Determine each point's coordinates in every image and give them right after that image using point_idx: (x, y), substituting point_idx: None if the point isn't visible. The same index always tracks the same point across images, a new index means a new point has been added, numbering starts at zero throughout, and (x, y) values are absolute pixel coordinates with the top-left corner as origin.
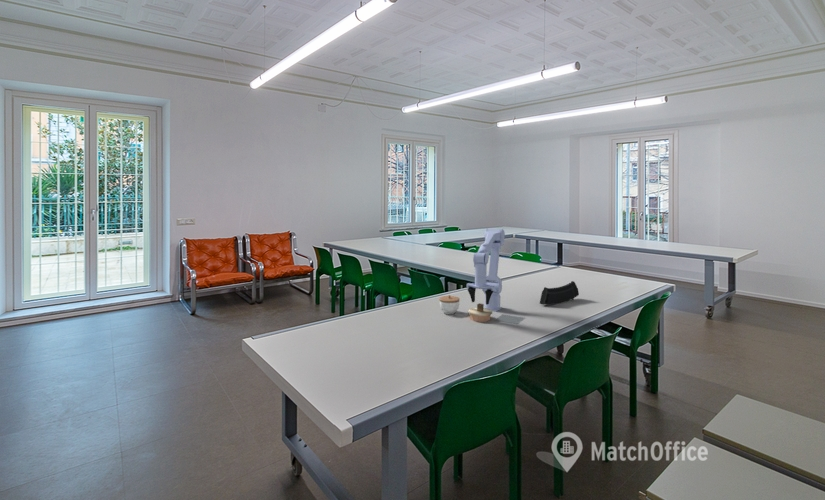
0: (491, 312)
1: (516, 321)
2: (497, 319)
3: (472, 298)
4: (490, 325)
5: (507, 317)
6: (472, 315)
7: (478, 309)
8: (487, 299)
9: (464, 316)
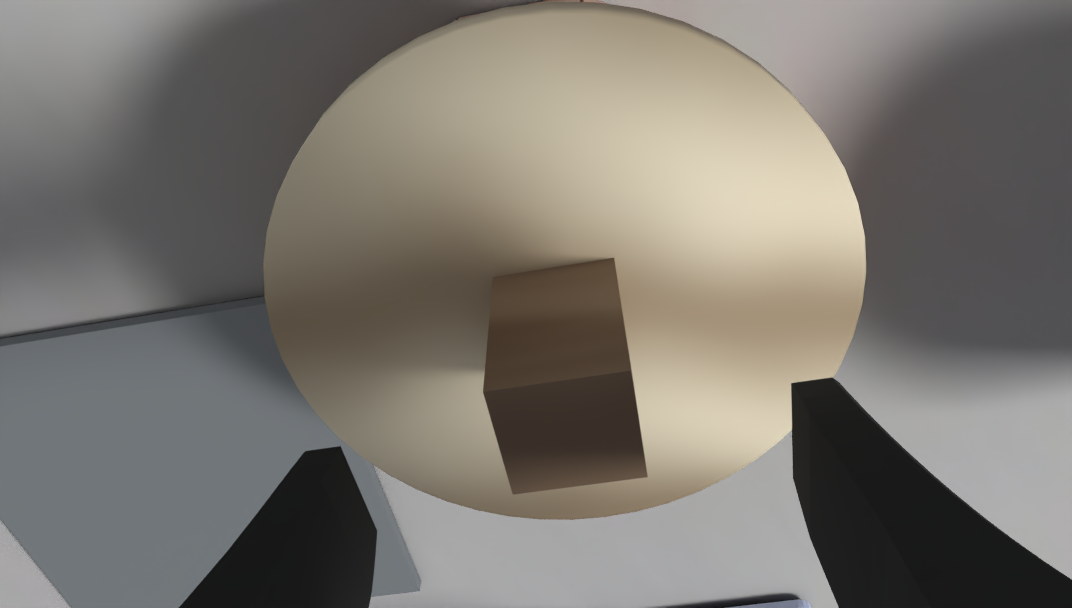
0: (295, 373)
1: (7, 456)
2: (283, 366)
3: (845, 462)
4: (121, 7)
5: None
6: None
7: (577, 291)
8: (211, 572)
9: (930, 170)
